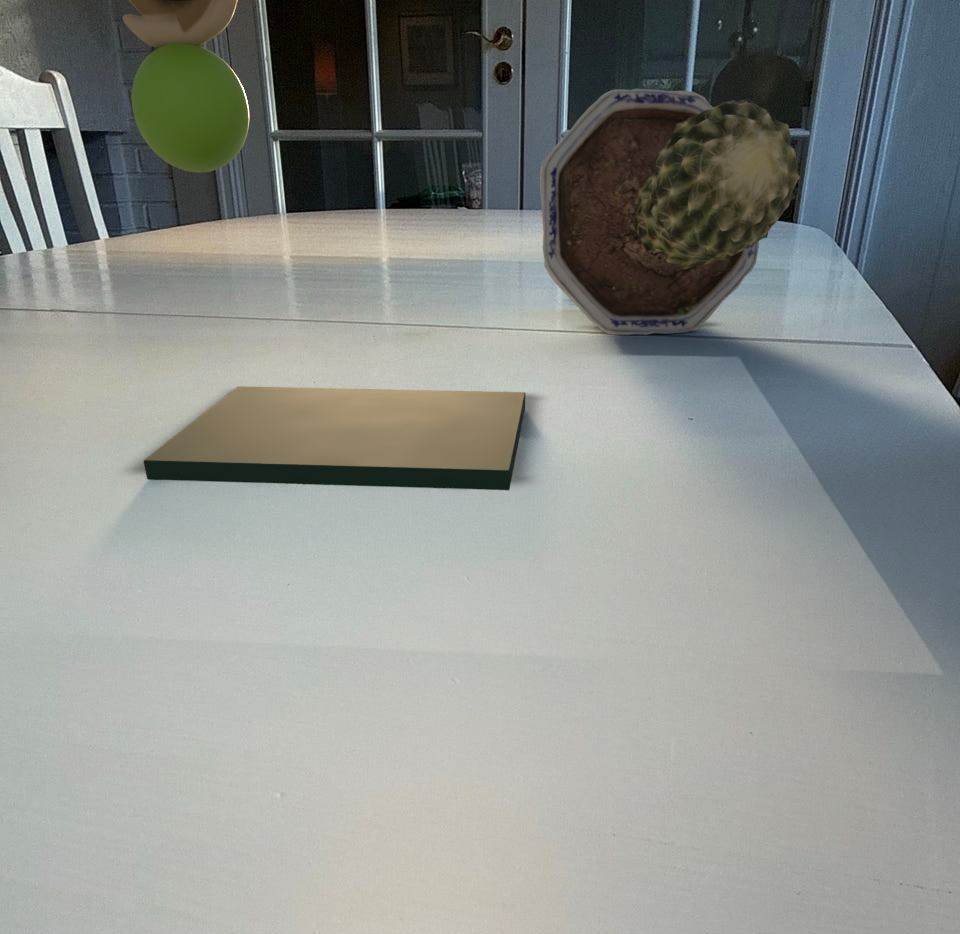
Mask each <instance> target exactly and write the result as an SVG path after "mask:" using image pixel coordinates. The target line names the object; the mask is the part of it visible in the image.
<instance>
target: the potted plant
mask: <svg viewBox="0 0 960 934" xmlns="http://www.w3.org/2000/svg"><path fill="white" fill-rule="evenodd" d="M790 131H791V130H790V127H789V125H788V124H787V123H784V122H781V121H779V120H778V119H776V118H775V117H774V116H772V114H771V112H770V111H769V110H767V109H765V108H763V107H761V106H759V105H757V103H755V102H754V101H753V100H751V99H749V98H748V97H747V98H745V99H739V100H734V99H732V100H729V101H723V102H721V103H720V104H719V105H716V106H712V105H711V104H710V102H709V101H708V100H707V98H706V97H705V96H703V95H701V94H699V93H696V91H695V92H694V91H691V90H662V89H653V88H651V89H647V88H632V89H624V88H623V89H611V90H610V91H607V92H605V93H603V94H602V95H600V97H598V99H596V101H594V102H593V103H592V104H591V105H589V107H588V108H587V109H586V110H585V111H584V112H583V113H582V115H581V116H579V118H578V119H577V120H576V121H575V122H574V124H573V126H572V127H571V128H570V129H569V130H568V132H567V133H566V134H565V135H564V136H563V137H562V139H560V140H559V142H558V143H557V144H556V145H555V146H553V148H552V150H550V152H549V153H548V155H547V156H546V157H545V158H544V160H543V161H542V162H541V165H540V175H539V193H540V194H539V195H540V205H541V217H542V234H543V235H542V253H543V260H544V262H543V266H544V268H545V270H546V272H547V274H548V275H549V277H550V278H551V280H552V281H553V282H554V284H556V285H557V287H558V288H559V290H561V291H562V292H563V293H564V294H565V296H567V298H569V300H570V301H571V302H572V303H573V304H574V305H575V306H576V307H577V308H578V309H579V310H580V311H581V312H582V313H583V314H584V316H585V317H586V318H587V319H588V320H590V322H592V323H593V325H595V326H596V327H597V328H598V329H599V330H601V331H602V332H605V333H606V334H608V335H613V336H632V335H641V336H648V335H651V334H662V335H663V334H669V335H672V334H679V333H680V334H681V333H687V332H693V331H697V330H698V329H699V328H700V327H701V326H702V325H704V324H705V323H706V322H707V321H709V319H710V318H711V316H712V315H713V314H714V313H715V312H716V310H717V309H718V308H719V307H720V306H721V304H723V302H724V301H725V300H726V299H727V298H729V296H730V295H732V293H734V292H735V291H736V290H737V289H738V288H739V287H740V285H741V284H742V282H743V281H744V279H745V278H746V277H747V276H748V275H749V274H750V273H751V272H752V271H753V269H754V267H756V263H757V259H758V253H759V249H760V241H762V240H763V239H767V238H768V236H769V232H770V230H771V228H772V227H773V226H774V225H775V224H776V223H777V222H778V221H779V219H780V217H782V215H783V214H784V211H786V209H787V208H789V206H790V203H791V201H793V199H794V198H795V194H794V190H795V188H796V185H797V182H798V181H799V180H800V178H801V176H800V174H799V172H798V170H799V166H798V159H797V152H796V151H795V148H793V147H792V146H791V132H790Z"/></svg>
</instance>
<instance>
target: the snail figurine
mask: <svg viewBox="0 0 960 934" xmlns="http://www.w3.org/2000/svg"><path fill="white" fill-rule="evenodd" d="M128 2H129V3H130V4H131V5H132V6H133V7H134V8H135V9H136V10H137V11H138V12H139V13H140V14H141V15H136V14H132V13H131V14H130V13H126V14H124V15H123V16H122V21H123V23H124V24H125V26H126V27H127V28H128V29H129V30H130V31H131V32H132V33H133V34H134V35H135V36H137V37H138V38H139V39H140V40H141V41H143V42H144V43H145V44H147V45H149V46H151V47H155V48H156V49H155V50H153V51H152V52H151V53H150V54H148V55H147V56H146V57H145V58H144V60H143V61H142V62H141V64H140V65H139V66H138V69H137V71H136V72H135V75H134V78H133V83H132V88H131V107H132V112H133V117H134V121H135V123H136V126H137V129H138V131H139V133H140V135H141V136H142V138H143V140H144V141H145V143H146V144H147V145H148V147H149V148H150V149H151V150H152V151H153V152H154V154H156V155H157V156H158V157H159V158H160V159H161V160H163V161H164V162H166V163H168V164H169V165H170V166H173V167H175V168H177V169H178V170H182V171H185V172H189V173H199V174H200V173H209V172H213V171H217V170H220V169H222V168H223V167H225V166H227V165H228V164H229V163H231V162H232V161H233V160H234V159H235V158H236V156H238V155H239V153H240V151H241V150H242V148H243V147H244V145H245V141H246V139H247V137H248V131H249V127H250V109H249V104H248V102H249V101H248V99H247V95H246V93H245V89H244V87H243V85H242V83H241V80H240V79H239V77H238V76H237V74H236V73H235V72H234V70H233V69H232V68H231V66H230V65H229V64H228V63H227V62H226V61H225V60H224V59H223V58H221V57H220V56H219V55H218V54H217V53H215V52H214V51H211V50H210V49H208V48H205V47H203V46H202V45H204V44H206V43H207V42H209V41H211V40H212V39H214V38H216V37H217V36H218V35H220V34H221V33H222V32H224V30H225V29H226V28H227V27H228V25H229V24H230V22H231V21H232V18H233V16H234V13H235V10H236V7H237V3H238V0H186V1H162V0H128Z"/></svg>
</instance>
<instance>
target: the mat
mask: <svg viewBox="0 0 960 934" xmlns="http://www.w3.org/2000/svg"><path fill="white" fill-rule="evenodd" d="M526 394H527V393H526V392H525V391H483V390H482V391H477V390H432V389H431V390H428V389H427V390H426V389H383V388H381V389H380V388H335V387H333V388H332V387H288V386H287V387H284V386H283V387H282V386H281V387H280V386H236V387H235V388H234V389H233V390H231V391H229V393H227V394H226V395H225V396H224V397H222V398H221V399H219V400H218V401H216V403H215V404H213V405H212V406H211V407H210V408H208V409H207V410H206V411H204V412H203V413H202V414H201V415H200V416H198V417H197V418H196V419H194V420H193V421H192V422H191V423H189V424H188V425H187V426H185V427H183V429H182V430H180V431H179V432H178V433H176V434H175V435H174V436H173V437H171V438H170V439H169V440H168V441H166V442H165V443H164V444H162V445H161V446H160V447H158V448H157V449H156V450H155V451H154V452H153V453H151V454H150V455H148V456H147V457H146V458H145V459H143V466H144V471H145V477H146V479H147V480H151V481H178V482H179V481H182V482H184V481H185V482H215V483H216V482H217V483H219V482H220V483H249V484H250V483H253V484H280V485H281V484H284V485H285V484H286V485H290V484H291V485H316V486H317V485H318V486H319V485H320V486H348V487H349V486H352V487H358V486H359V487H382V488H384V487H385V488H386V487H387V488H419V489H420V488H421V489H424V488H425V489H426V488H427V489H448V490H449V489H451V490H452V489H453V490H483V491H484V490H485V491H486V490H487V491H489V490H490V491H510V489H511V483H512V479H513V473H514V468H515V463H516V459H517V452H518V448H519V442H520V437H521V432H522V426H523V422H524V417H525V411H526Z"/></svg>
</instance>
